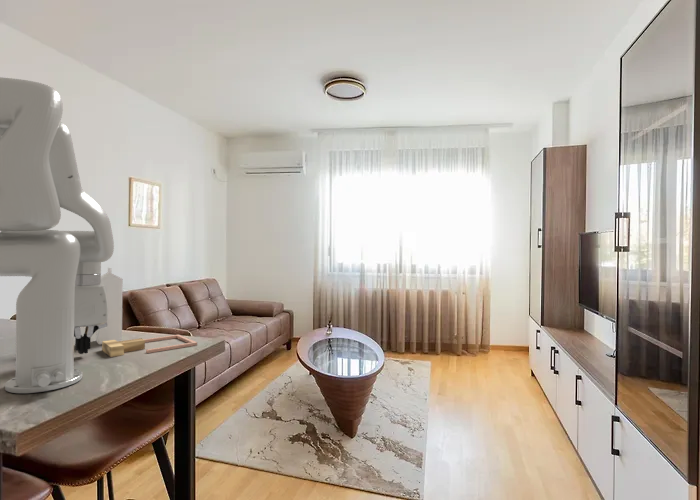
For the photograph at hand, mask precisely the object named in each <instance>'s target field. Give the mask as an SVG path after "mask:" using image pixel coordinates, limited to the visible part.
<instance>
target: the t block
mask: <svg viewBox="0 0 700 500" xmlns="http://www.w3.org/2000/svg"><path fill="white" fill-rule="evenodd" d="M144 339H145V338H134V339H126V340H122V341H116V340H108V341H102V344H101V350H102V352H103V353H105V354H106V355H107V356H109V357H110V358H113V357H119V356H124V355H125V353H127V352H134V351H135V352H136V351H139V350H140V351H141V350H145V349H146V348H145V347H146V343H145V340H144Z"/></svg>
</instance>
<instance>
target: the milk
mask: <svg viewBox="0 0 700 500" xmlns="http://www.w3.org/2000/svg"><path fill="white" fill-rule="evenodd" d="M101 285H103V286H105V290H106V297H107V308H108V320H107V324H108V325H107V327H104V328H101V329H98V330H97V331H96V332H95V342H96V343H97V344H98V345H102V341H108V340H116V341H123V287H124V286H123V285H124V284H123V278H122V277H120V276H118V275H116V274H114V273H112V268H111V267H109V266H108V267H107V271H106V273H104V274H101Z"/></svg>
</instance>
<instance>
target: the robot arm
mask: <svg viewBox="0 0 700 500" xmlns="http://www.w3.org/2000/svg"><path fill="white" fill-rule="evenodd" d="M63 111H64V109H63V101H62V96H61V95H60V93H59V92H58V91H57V90H56V89H55V88H54V87H52V86H51V85H48V84H44V83H41V82H37V81H32V80H26V79H19V78H12V77H11V78H10V77H3V76H2V77H1V76H0V277H27V278H28V277H29V278H30V277H31V279H30V281H29V282H27V284H26V285H25V286H24V287H23V288H22V289H21V291H20V292H19V293H18V295H17V298H16V304H15V314H16V315H15V377H12V378H10V379H9V380H8V381H6V382H5V384H4V390H5V391H6V392H9V393H12V394H33V393H34V394H35V393H43V392H50V391H53V390H54V391H55V390H58V389H61V388H62V389H63V388H65V387H69V386H71V385H74V384H76V383H78V382H79V381H81V380H82V378H83V371H82V370H80V369H75V367H74V366H75V365H74V364H75V363H74V362H75V361H74V360H75V351H77V352H78V354H80V355H83V354H88V353H89V350H90V349H91V337H92V336H93V335H94V334H96V331H97V330H98V329H101V328H104V327H107V325H108V324H107V320H108V308H107V297H106V290H105V286H103V285H101V276H102V263H104V262H107V261H109V260H110V259H111V258H112V256H113V254H114V250H115V248H114V247H115V244H114V243H115V242H114V236H113V230H112V223H111V221H110V218H109V216H108V213H106V211H105V210H104V208H103V207H102V206H101V205H100V204H99V203H98V201H96V200H95V198H93V197H92V196H91V195H89V194H88V193H87V192H86V191H85V190H83V187H82V183H81V179H80V175H79V168H78V164H77V160H76V158H77V157H76V153H75V149H74V143H73V138H72V135H71V132H70V129H69V128H68V127H67V125H66V124H65V123H63V122H61V120H62V118H63ZM61 209H63V210H66V211H69V212H71V213H73V214H76V215H77V216H79V217H81V218H82V219H83V220H85V221H86V222H87V223H88V224H89V225H90V226H91V228H92V229H93V230H58V229H53V228H55V227H56V226H57V225H58V224H59V222H60V220H61V218H62V217H61V216H62V213H61V211H62V210H61ZM82 327H85V330H84V333H83V335H82V331H81V328H82Z"/></svg>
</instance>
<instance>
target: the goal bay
mask: <svg viewBox="0 0 700 500" xmlns="http://www.w3.org/2000/svg"><path fill="white" fill-rule="evenodd" d="M143 339H144V340H145V344H146V343H152V342H159V341H165V340H166V341H167V340H173V339H178V340H180V341H182V342H184V343H180V344H179V343H178V344H174V345H168V346H162V347H154V348H149V349H148V348H147V349H146V351H145V353H146V354H150V353H151V354H152V353H153V354H154V353H157V352H165V351H169V350H177V349H182V348H187V347H193V346H194V347H195V346H198V342H197V341H195V340H192V339H190V338H188V337H186V336H183V335H181V334H173V335H168V336H166V335H165V336H160V337H152V338H143Z"/></svg>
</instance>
